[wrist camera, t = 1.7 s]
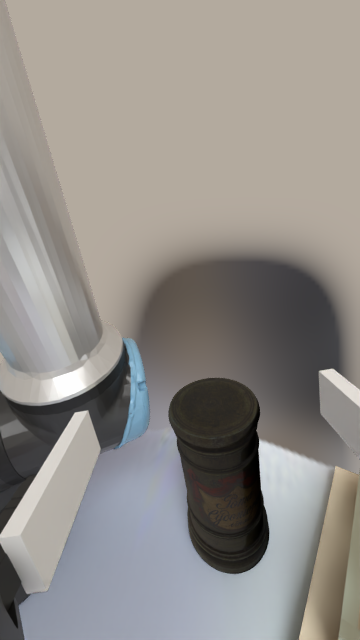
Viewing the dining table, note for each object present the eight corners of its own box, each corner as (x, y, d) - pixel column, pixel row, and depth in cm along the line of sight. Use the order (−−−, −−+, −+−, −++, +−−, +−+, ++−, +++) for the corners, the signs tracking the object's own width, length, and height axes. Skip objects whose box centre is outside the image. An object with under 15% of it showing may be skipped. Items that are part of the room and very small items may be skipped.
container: (178, 512, 33) (150, 395, 26) (236, 478, 36) (225, 365, 29) (215, 598, 25) (190, 460, 18) (287, 544, 28) (286, 411, 21)
